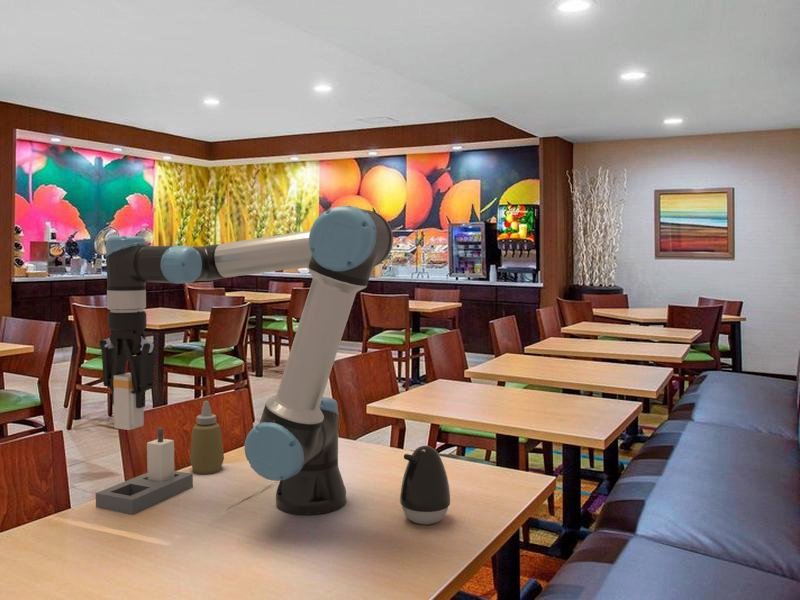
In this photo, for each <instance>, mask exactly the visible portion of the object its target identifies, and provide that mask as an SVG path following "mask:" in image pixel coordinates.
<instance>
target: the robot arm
mask: <svg viewBox="0 0 800 600" xmlns="http://www.w3.org/2000/svg"><path fill="white" fill-rule="evenodd" d="M393 245H394V235H393V231H392V227H391V225H390V223H389V222H388V221H387V219H386V218H384V217H383V216H382V215H381V214H379V213H377V212H375V211H373V210H367V209H363V208H359V207H358V206H351V205H342V206H341V205H340V206H335V207H332V208H331V207H330V208H328V209H327V210H325V211H323V212H322V213H321V214H319V215H318V216H317V218H315V220H314V221H313V223H312V226H311V227H310V230H304V231H298V232H297V231H296V232H292V233H291V232H290V233H284V234H278V235H270V236H264V237H257V238H251V239H244V240H239V241H231V242H230V241H229V242H225V243H218V244H210V245H203V246H188V245H187V246H186V245H176V244H175V245H147V244H146V239H145V237H143V236H138V235H137V236H136V235H111V236H109V237H107V240H106V249H105V251H106V253H105V262H106V263H105V266H106V282H107V286H106V309H107V310H110V311H108V312H107V315H106V316H107V317H106V318H107V320H106V321H107V329H108V330H109V331H110V334H109V337H108V338H106V339H99V342H98V344H99V347H100V350H101V361H102V364H101V365H102V381H103V383H102V385H103V386H104V387H108V388H109V389H110V390H111V404H112V405H113V406H114V387H113V379H114V375H119V374H124V373H126V366H127V362H128V364H129V371H130V373H131V377H132V383H133V389H134V391H131V424H133V425H134V424H138V423H141V422H144V420H145V419H144V416H145V415H144V412H145V411H144V408H145V407H146V392H147V391H148V390H151V389H154V386H155V385H154V384H155V383H154V381H155V379H154V376H155V373H154V372H155V351H156V349H157V342H151V341H148V340H147V338H146V336H145V329H146V328H147V326H148V325H147V312H146V311H145V310H144V309H146V308H147V292H146V291H147V290H146V289H147V288H146V286H147V283H164V284H175V285H179V284H181V285H182V284H192V283H194V282H201V281H202V282H209V281H211V282H212V281H216V280H220V279H226V278H233V277H239V276H247V275H248V276H249V275H257V274H263V273H269V272H270V273H271V272H277V271H278V272H279V271H288V270H294V269H302V268H307V270H308V271H309V273H310V276H311V277H312V279H311V284H310V287H309V291H308V294H307V297H306V300H305V303H304V306H303V309H302V313H301V316H300V318H299V322H298V326H297V328H296V331H295V335H294V338H293V341H292V345H291V348H290V350H289V354H288V357H287V360H286V364H285V367H284V369H283V373H282V377H281V380H280V383H279V386H278V389H277V393H276V394H275V395H273V396H271V397H268V399H266V402H265V405H264V407H263V410H262V413H261V417H260V420H259V422H258V424H256V425H254V426H253V427H252V428H251V430H250V431H249V432H248V433H247V435H246V438H245V441H244V455H245V458H246V461H248V463H249V465H250V467H251V469H252V470H253V471H254V473H256V474H257V475H258V476H260V477H262V478H264V479H265V480H270V481H275V482H278V481H279V483H278V485H277V488H276V493H275V505H276V507H277V508H278V509H279V510H281V511H282V512H285V513H288V514H292V515H293V514H294V515H303V516H304V515H309V516H310V515H312V516H313V515H321V514H326V513H330V512H334V511H336V510H339V509H340V508H342V507H343V506H345V504H346V503H347V490H346V486H345V484H344V481H343V478H342V477H343V476H342V474H341V471H340V467H339V416H340V413H339V407H338V402H337V401H336V399H334V398H331V397H327V396H324V394H325V390H326V387H327V384H328V381H329V378H330V376H331V372H332V369H333V366H334V364H335V363H334V362H335V360H336V357H337V353H338V351H339V347H340V344H341V340H342V338H343V335H344V331H345V330H346V325H347V322H348V321H349V316H350V313H351V310H352V306H353V305H354V304H353V303H354V301H355V298H356V295H357V293H358V292H360V291H362V290H364V289H366V288H367V287H368V283H369V281H370V278H371V276H372V275H371V274H372V272H373V269H374V267H377V266H379V265H380V264H382V263H383V262H384V261H385V260H386V259H387V258H388V257H389V255H390V254H391V250H392V248H393ZM139 385H140V386H139ZM144 423H145V422H144Z"/></svg>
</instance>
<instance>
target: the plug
mask: <svg viewBox="0 0 800 600" xmlns="http://www.w3.org/2000/svg"><path fill="white" fill-rule="evenodd" d="M139 386H140V385H139ZM113 387H114V405H113V423H114V428H115V429H120V430H127V431H130V430H134V429H136V428H141V427H144V423H145V422H141V423H138V424H134V425H133V424H131V391H134V389H133V383H132V377H131V372H125V373H124V374H119V375H114V379H113Z"/></svg>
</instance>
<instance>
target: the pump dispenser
mask: <svg viewBox="0 0 800 600" xmlns="http://www.w3.org/2000/svg"><path fill="white" fill-rule="evenodd" d="M403 459H404V460H406V461H408V462H407V465H406V467H405V470H404V474H403V477H402V483H401V487H400V495H399V498H400V499H399V502H400V505H401V507H402V510H403V513H404V515H405V516H406V517H407V519H408V520H410V521H411V522H413V523H416V524H419V525H432V524H436V523H438V522H439V521H441V520H443V518H444V517H445V515H447V512H448V510H449V506H450V505H451V490H450V486H449V485H450V484H449V480H448V475H447V471H446V469H445V465H444V463H443V460H442V458H441V456H440V454H439V452H438V451H437V450H436V449H435V448H433V447H432V446H430V445H421V446H419V447H417V448H415V450H414V451H413V452H412V454H409V453H405V454H404V455H403Z"/></svg>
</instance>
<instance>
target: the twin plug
mask: <svg viewBox="0 0 800 600" xmlns="http://www.w3.org/2000/svg"><path fill="white" fill-rule="evenodd" d="M156 434H157V439H154V440H151V441H147V443H146V455H147V456H146V460H147V467H146V468H147V472H148V480H151V481H157V482H164V481H166V480H169V479H171V478H173V477H175V473H174V471H175V441H174V439H167V438H164V428H163V427H158V428H157V433H156Z"/></svg>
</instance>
